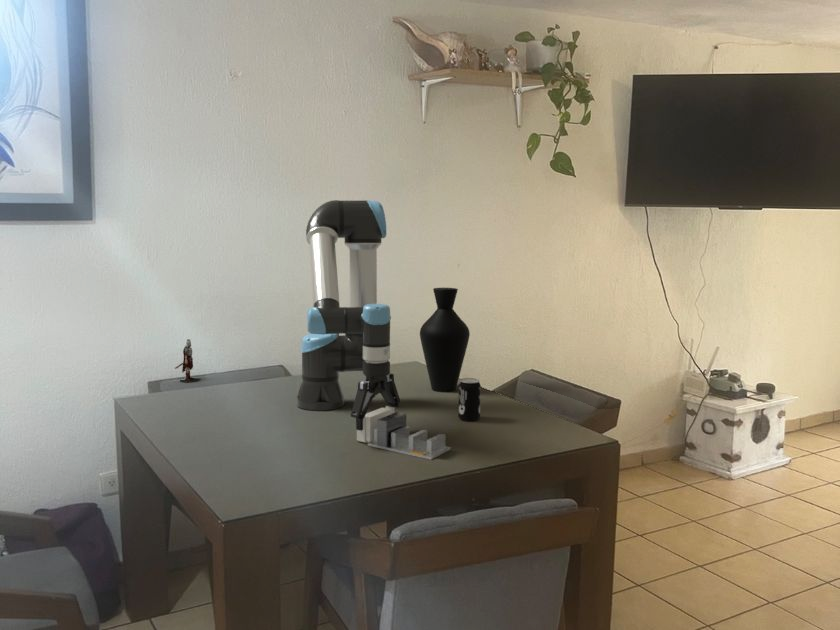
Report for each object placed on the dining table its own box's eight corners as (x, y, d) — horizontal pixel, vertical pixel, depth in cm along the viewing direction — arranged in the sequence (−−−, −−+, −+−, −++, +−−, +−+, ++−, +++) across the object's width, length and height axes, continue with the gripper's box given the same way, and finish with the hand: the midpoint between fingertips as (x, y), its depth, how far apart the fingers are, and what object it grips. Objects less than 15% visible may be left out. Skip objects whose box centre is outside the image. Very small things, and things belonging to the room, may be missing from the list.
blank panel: (361, 440, 219) (361, 415, 218) (382, 431, 227) (382, 407, 226) (369, 442, 217) (370, 417, 216) (390, 433, 226) (390, 409, 225)
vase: (433, 397, 265) (435, 293, 259) (410, 386, 280) (411, 287, 274) (477, 392, 273) (480, 290, 267) (452, 381, 288) (454, 285, 282)
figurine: (196, 383, 281) (194, 341, 278) (175, 382, 281) (173, 340, 278) (201, 378, 287) (200, 337, 285) (181, 378, 287) (179, 337, 285)
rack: (367, 445, 214) (367, 418, 213) (389, 436, 222) (389, 409, 221) (431, 459, 203) (431, 430, 202) (450, 449, 212) (451, 421, 211)
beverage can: (478, 422, 237) (479, 383, 235) (456, 421, 238) (457, 382, 236) (481, 416, 243) (482, 378, 241) (459, 415, 244) (460, 377, 242)
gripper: (360, 370, 207) (360, 449, 210) (412, 354, 227) (411, 426, 231) (337, 366, 211) (337, 444, 214) (390, 351, 231) (390, 422, 235)
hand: (376, 435), depth 222 cm, fingers open, 13 cm apart
